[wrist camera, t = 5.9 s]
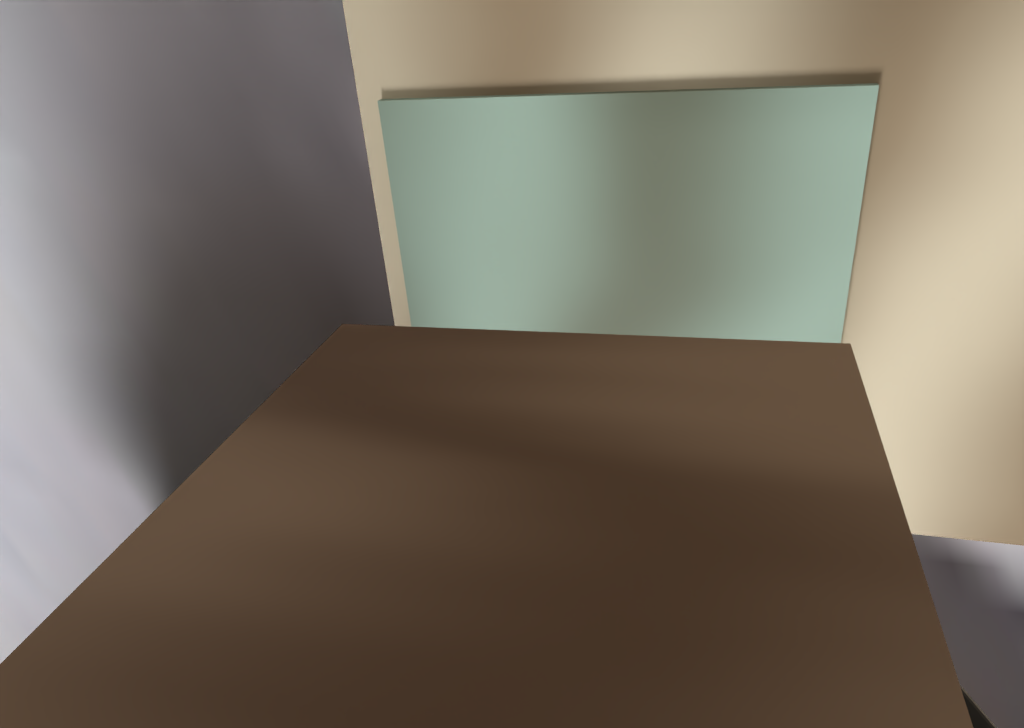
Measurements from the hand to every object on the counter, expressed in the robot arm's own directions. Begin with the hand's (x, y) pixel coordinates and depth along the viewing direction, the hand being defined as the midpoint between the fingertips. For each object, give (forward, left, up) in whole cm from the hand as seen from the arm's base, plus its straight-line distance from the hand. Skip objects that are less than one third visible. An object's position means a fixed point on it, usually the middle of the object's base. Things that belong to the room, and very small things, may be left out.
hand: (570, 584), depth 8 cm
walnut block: (0, 0, -1) cm, 1 cm away
